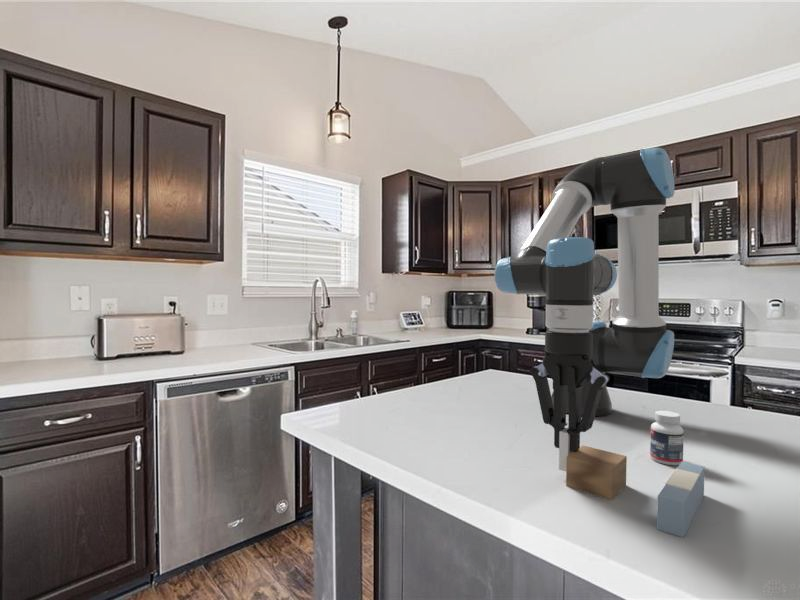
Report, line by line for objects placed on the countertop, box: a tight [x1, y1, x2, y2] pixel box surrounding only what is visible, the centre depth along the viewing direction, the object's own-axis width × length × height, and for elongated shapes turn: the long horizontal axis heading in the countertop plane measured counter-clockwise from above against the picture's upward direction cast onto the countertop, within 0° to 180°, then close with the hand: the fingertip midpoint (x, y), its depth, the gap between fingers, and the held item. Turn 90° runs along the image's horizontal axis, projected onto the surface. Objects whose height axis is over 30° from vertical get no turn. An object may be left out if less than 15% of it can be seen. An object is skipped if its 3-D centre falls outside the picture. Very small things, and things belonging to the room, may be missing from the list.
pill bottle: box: [649, 410, 685, 466], centre depth 82 cm, size 5×5×9 cm
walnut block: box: [565, 445, 628, 501], centre depth 72 cm, size 7×7×5 cm
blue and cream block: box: [656, 460, 705, 538], centre depth 64 cm, size 3×16×5 cm, turn 138°
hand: (566, 468), depth 75 cm, fingers closed
